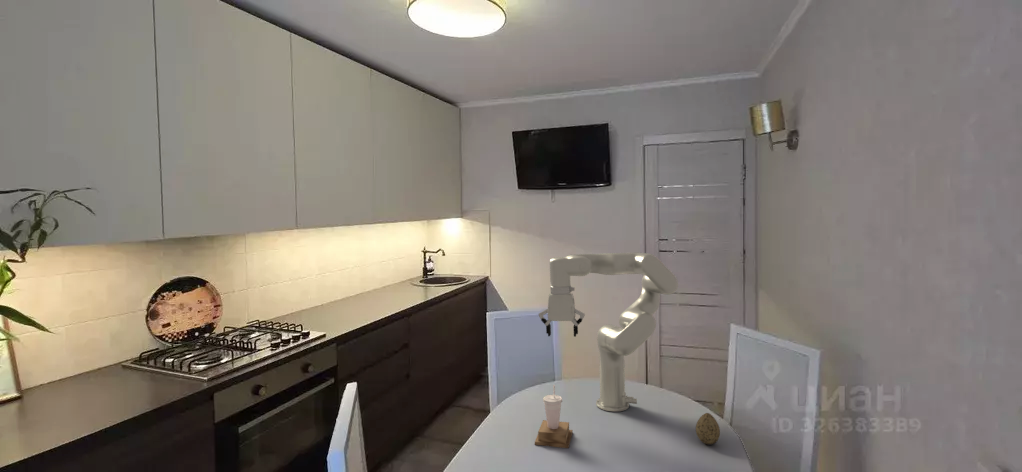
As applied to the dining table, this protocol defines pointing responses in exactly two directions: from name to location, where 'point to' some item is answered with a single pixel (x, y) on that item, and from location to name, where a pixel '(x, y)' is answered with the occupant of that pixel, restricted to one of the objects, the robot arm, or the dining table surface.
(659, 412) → the dining table surface
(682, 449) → the dining table surface
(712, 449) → the dining table surface
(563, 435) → the pedestal
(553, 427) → the smoothie
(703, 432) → the decorative egg
